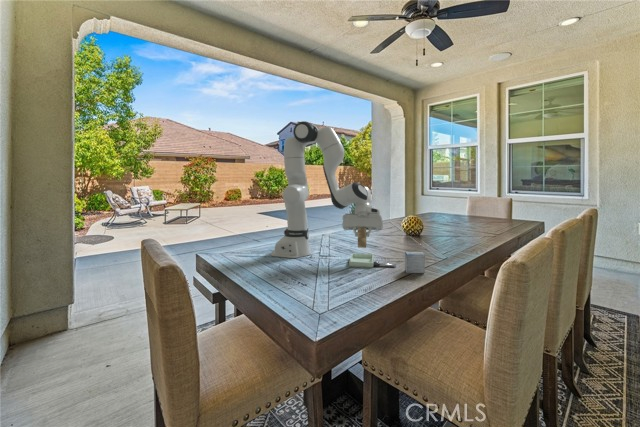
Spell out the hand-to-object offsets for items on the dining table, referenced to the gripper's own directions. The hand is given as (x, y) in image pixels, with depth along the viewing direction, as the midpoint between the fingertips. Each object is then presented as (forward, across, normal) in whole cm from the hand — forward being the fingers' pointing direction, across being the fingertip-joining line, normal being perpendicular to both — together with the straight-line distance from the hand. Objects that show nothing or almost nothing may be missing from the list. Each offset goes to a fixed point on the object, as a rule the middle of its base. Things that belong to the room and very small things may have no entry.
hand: (362, 236), depth 150 cm
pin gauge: (+13, +11, +6) cm, 18 cm away
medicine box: (+18, +24, +2) cm, 30 cm away
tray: (+10, 0, +9) cm, 13 cm away
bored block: (+4, 0, +3) cm, 5 cm away
